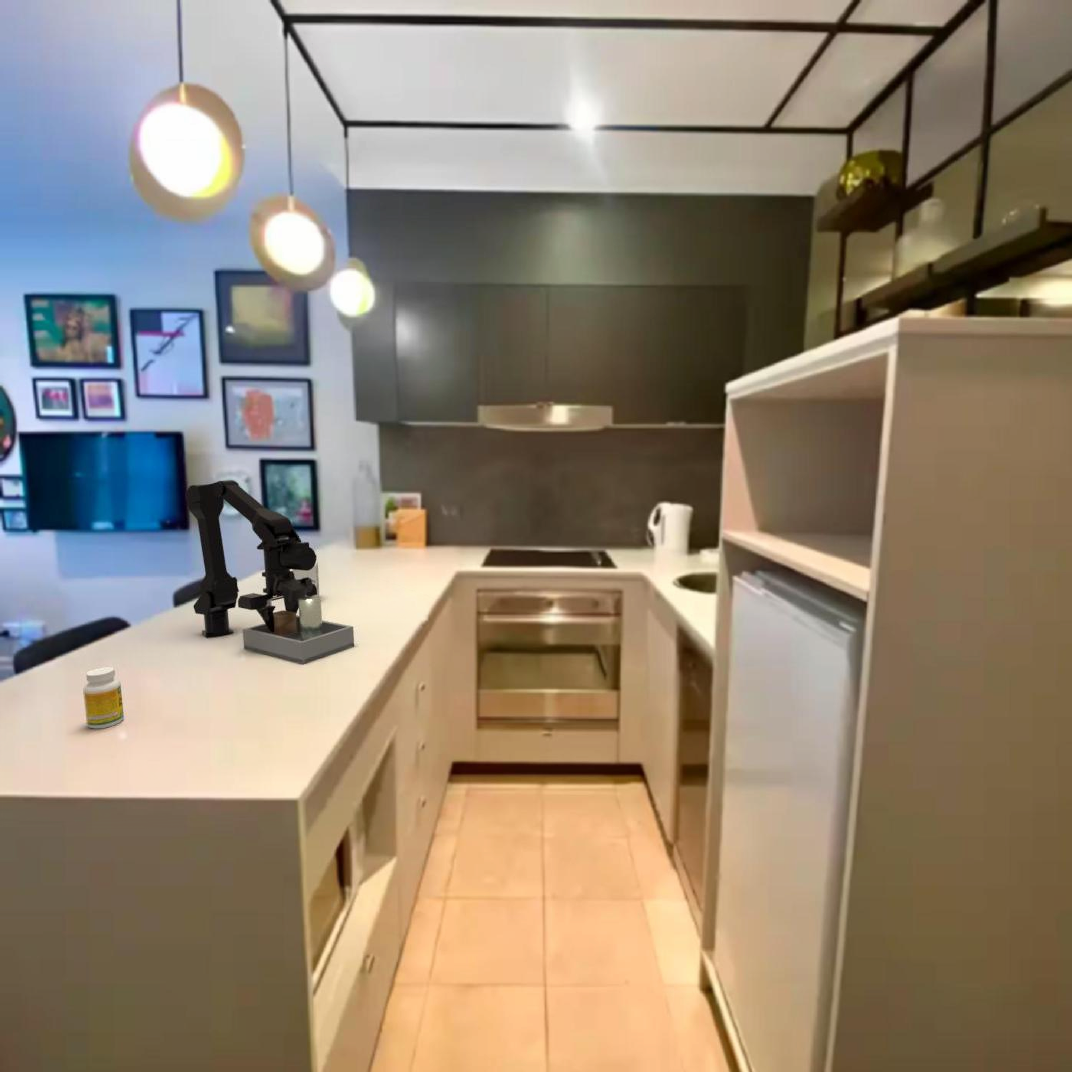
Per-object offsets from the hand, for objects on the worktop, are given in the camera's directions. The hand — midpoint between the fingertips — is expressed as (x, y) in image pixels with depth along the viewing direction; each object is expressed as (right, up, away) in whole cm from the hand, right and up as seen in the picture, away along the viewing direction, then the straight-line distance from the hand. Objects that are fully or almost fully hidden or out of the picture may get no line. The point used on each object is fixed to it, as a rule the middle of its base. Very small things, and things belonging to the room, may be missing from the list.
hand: (281, 629), depth 151 cm
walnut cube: (0, -1, 0) cm, 1 cm away
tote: (+6, -4, -3) cm, 8 cm away
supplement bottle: (-13, -10, -44) cm, 47 cm away
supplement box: (-10, +2, +44) cm, 45 cm away
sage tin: (+10, -3, -6) cm, 12 cm away
